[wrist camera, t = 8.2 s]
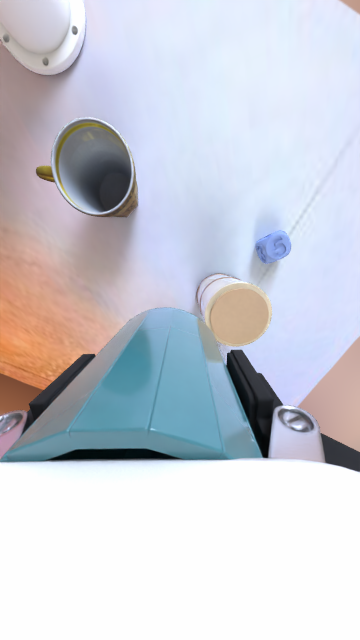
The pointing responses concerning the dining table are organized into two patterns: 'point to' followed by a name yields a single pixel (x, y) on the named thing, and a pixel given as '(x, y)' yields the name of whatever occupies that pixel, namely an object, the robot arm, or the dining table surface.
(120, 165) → the ceramic cup
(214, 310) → the cup stack
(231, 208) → the dining table surface
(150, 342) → the teal cup
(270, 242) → the decorative dice
